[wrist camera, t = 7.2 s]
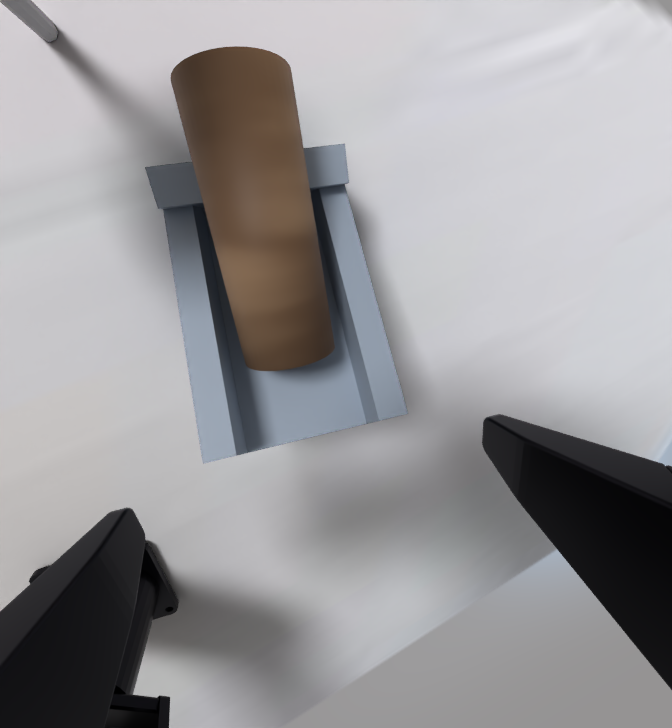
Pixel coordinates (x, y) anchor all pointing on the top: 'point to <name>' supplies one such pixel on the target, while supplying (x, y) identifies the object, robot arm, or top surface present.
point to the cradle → (221, 342)
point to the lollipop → (32, 18)
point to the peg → (257, 201)
